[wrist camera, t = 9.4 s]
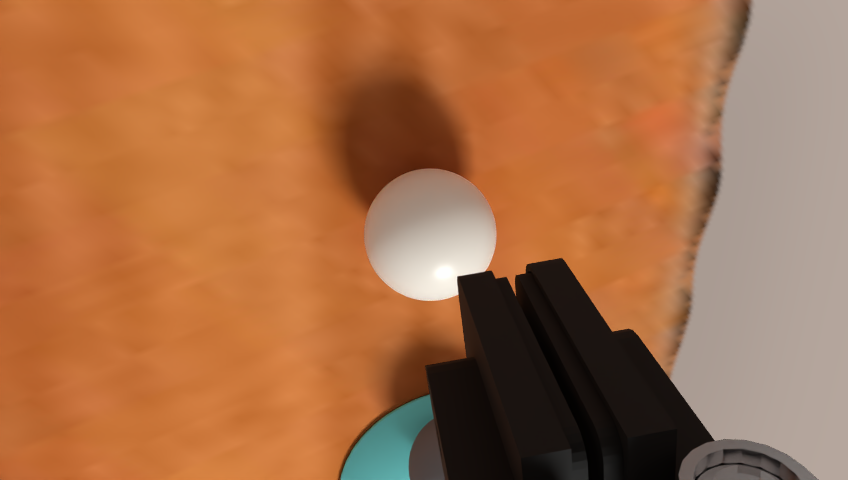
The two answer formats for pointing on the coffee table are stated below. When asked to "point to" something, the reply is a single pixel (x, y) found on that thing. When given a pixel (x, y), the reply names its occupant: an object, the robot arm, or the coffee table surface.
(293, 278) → the coffee table surface
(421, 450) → the object ball
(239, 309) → the coffee table surface
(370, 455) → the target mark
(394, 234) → the cue ball
